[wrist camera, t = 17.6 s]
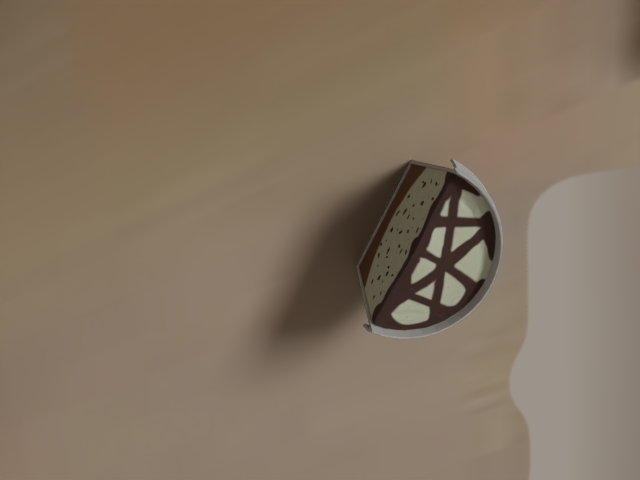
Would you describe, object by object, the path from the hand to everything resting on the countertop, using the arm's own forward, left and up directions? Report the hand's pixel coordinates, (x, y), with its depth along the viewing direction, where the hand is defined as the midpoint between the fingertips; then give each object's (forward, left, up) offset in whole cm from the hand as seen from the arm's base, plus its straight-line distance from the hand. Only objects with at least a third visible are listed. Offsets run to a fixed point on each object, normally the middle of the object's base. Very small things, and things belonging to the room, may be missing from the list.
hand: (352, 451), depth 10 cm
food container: (+9, -8, -35) cm, 37 cm away
